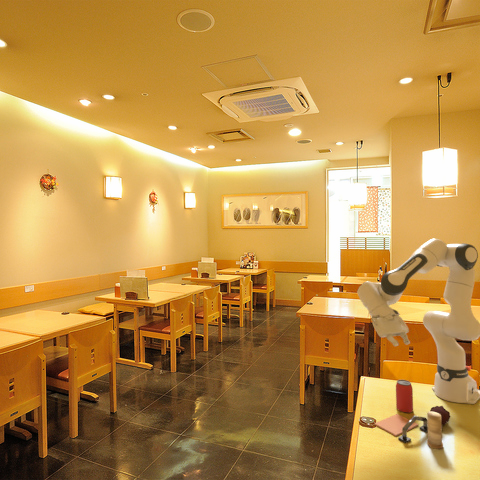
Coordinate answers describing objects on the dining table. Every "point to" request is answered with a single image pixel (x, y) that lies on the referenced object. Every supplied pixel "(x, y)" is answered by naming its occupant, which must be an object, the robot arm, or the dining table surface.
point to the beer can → (404, 396)
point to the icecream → (442, 414)
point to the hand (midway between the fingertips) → (402, 344)
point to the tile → (395, 424)
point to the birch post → (434, 430)
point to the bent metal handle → (410, 422)
